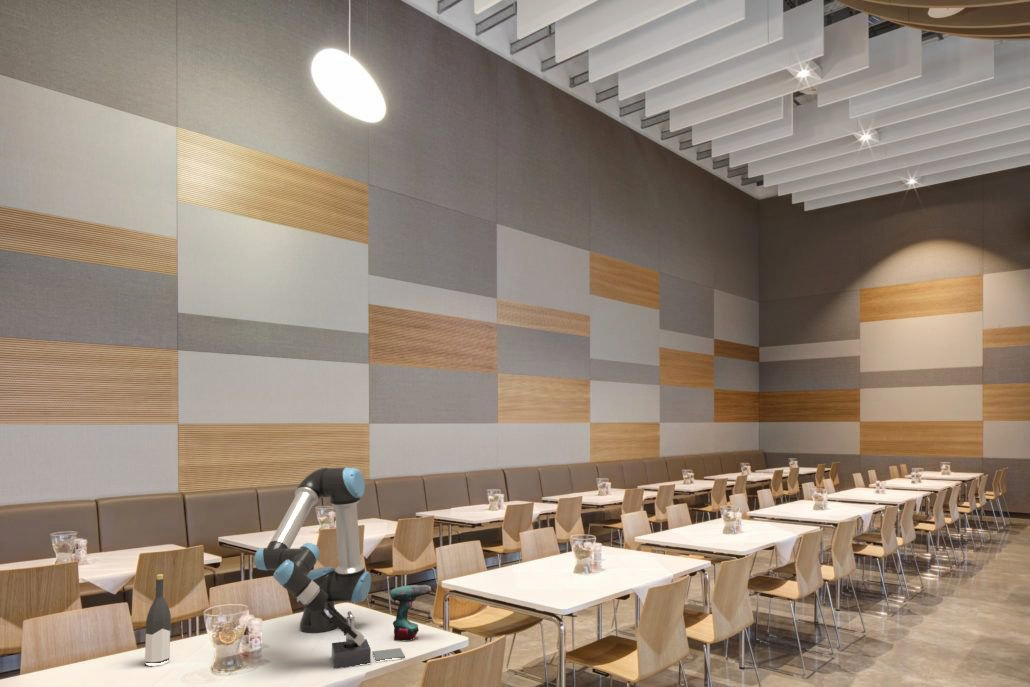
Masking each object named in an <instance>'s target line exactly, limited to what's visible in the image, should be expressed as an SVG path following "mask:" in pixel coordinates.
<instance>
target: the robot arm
mask: <svg viewBox="0 0 1030 687" xmlns="http://www.w3.org/2000/svg"><path fill="white" fill-rule="evenodd" d="M365 490H366V482H365V477H364V475H363V473H362V471H361V470H360V469H358V468H356V467H348V466H347V467H320V468H319V469H316V470H314V471H312V472H310V473H309V474H308V475H307V476H306V477H305V478H303V480H302V481H300V483H299V484H298V486H297V488H296V489H295V491H294V498H293V500H292V502H291V504H290V505H289V507H288V509H287V511H286V513H285V514H284V516H283V518H282V520H281V522H279V523H280V524H279V525H278V528H276V530H275V532H274V534H273V536H272V538H271V540H270V542H268V545H267V547H261V548H259V549H258V550H256V552H255V555H254V558H253V561H254V562H253V563H254V566H255V568H256V569H257V570H261V571H274V572H273V579H274V580H275V581H277V582H278V584H279V585H281V587H282V588H284V589H285V590H286V591H287V592H288V593H289V594H291V595H292V596H293V597H294V598H296V602H297V603H299V602H300V603H301V604H303V605H304V610H303V612H302V617H301V620H300V623H299V630H300V629H301V630H302V631H301V630H300V631H301V632H303V631H306V632H305V633H311V632H315V633H324V632H323V631H325V632H328V630H329V631H333V630H335V629H337V628H338V629H339V630H340V631H341V632H342V633H343V636H345V637H346V634H347V635H348V636H349V637H350V638H351V639H352V640H354V641H355V642H356V643H357V644H358V645H359V646H360V645H361V644H362V643H363V642H364V641H365V639H366V638H365V636H364V635H363V633H361V632H360V631H359V630H358V629H357V628H356V627H355V629H353V628H352V627H351V626H349V625H348V624H347V623H346V617H345V616H343V615H342V614H341V613H340V612H339V611H338V610H337V609H336V607H335V602H341V603H343V602H345V603H360V602H361V603H362V602H363V601H365V600H366V598H367V597H368V595H369V592H370V590H371V585H372V576H371V573H370V572H369V571H366V567H365V564H364V563H362V562H361V552H360V551H361V550H360V549H361V548H360V536H359V522H358V521H359V519H358V507H357V505H358V504H359V502H360V501H361V498H362V496H364V494H365ZM322 498H329V499H330V500H329V501H330V505H332V506H333V507H334V515H335V530H336V542H337V543H336V544H337V557H338V558H337V559H338V565H337V567H334V566H324V567H319V568H314V569H313V567H314V566H315V565H316V564H317V561H318V560H319V557H320V555H321V553H320V552H321V551H320V549H319V547H318V546H317V545H316V544H314V543H311V542H306V543H303V544H302V545H301V546H300V547H299V548H291V547H292V545H293V543H294V542H295V540H296V538H297V536H298V535H299V532H300V530H301V528H302V526H303V525H304V523H305V520H306V519H307V517H308V516H309V514H310V511H311V509H312V508H313V506H314V505H316V504H317V503H318V502H319V500H320V499H322ZM332 629H333V630H332Z"/></svg>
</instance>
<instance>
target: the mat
mask: <svg viewBox="0 0 1030 687" xmlns="http://www.w3.org/2000/svg"><path fill="white" fill-rule="evenodd" d="M371 653H373V654H372V656H373V655H374V656H373V658H374V657H375V659H374V661H375V660H376V661H380V660H385V659H392V658H405V659H406V656H405V654H404V652H403V650H402V648H401V647H398V648H390V649H382V650H372V651H371ZM376 661H375V662H376Z"/></svg>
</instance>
